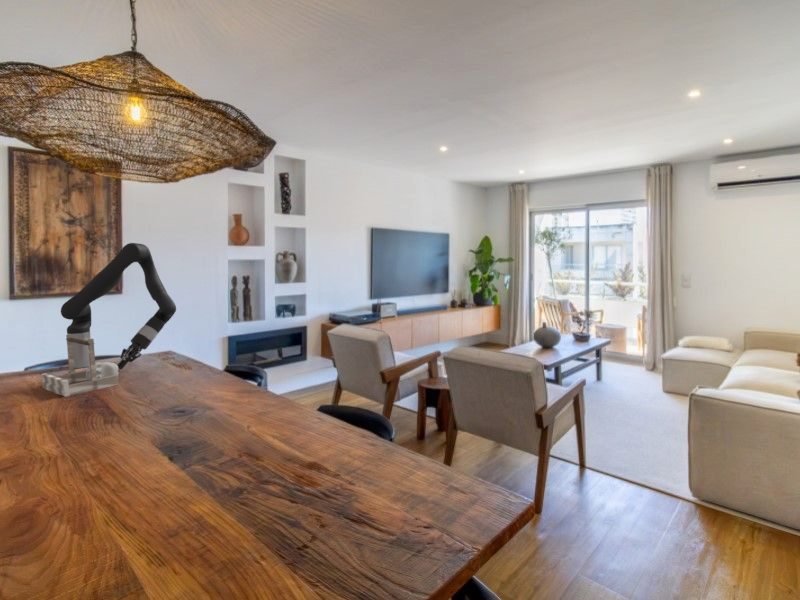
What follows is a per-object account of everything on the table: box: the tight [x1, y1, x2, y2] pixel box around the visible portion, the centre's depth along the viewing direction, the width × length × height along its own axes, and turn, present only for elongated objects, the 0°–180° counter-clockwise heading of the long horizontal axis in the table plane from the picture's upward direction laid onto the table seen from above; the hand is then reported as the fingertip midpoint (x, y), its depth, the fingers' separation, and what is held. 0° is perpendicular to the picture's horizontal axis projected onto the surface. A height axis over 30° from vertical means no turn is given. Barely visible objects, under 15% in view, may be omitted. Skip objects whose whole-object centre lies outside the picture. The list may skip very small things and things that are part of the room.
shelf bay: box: [41, 334, 120, 398], centre depth 183 cm, size 22×20×21 cm
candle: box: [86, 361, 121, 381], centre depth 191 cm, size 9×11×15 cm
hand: (118, 368), depth 196 cm, fingers closed
